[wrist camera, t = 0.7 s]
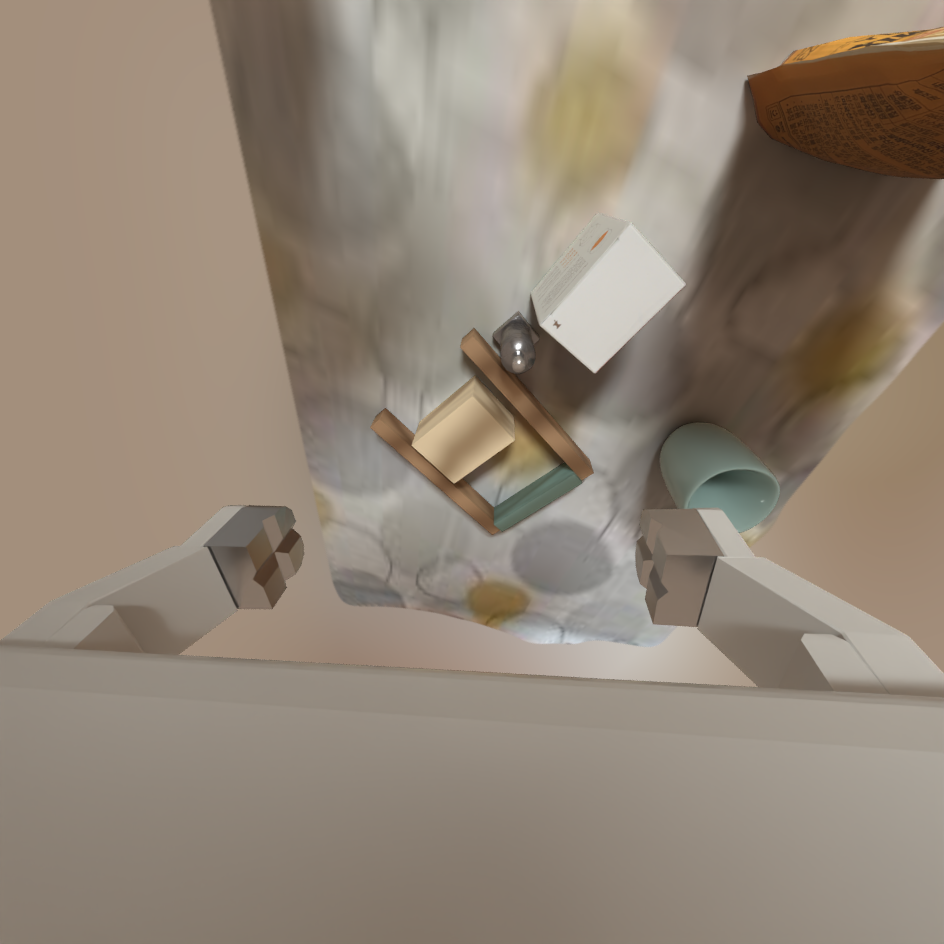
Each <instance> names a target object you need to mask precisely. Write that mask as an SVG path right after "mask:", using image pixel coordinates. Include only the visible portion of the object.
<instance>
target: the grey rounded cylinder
mask: <svg viewBox="0 0 944 944" xmlns="http://www.w3.org/2000/svg"><path fill="white" fill-rule="evenodd" d="M493 337H494V338H495V339H496V341H497V342H498V343H499V344H500V345H501V362H502V365H503V366H504V368H505V369H506V370H508V371H509V372H511V373H516V374H519V373H523V372H526V371H527V370H529V369H530V368H531V367H532V365H533V364H534V361H535V350H534V345H533V344H535V343H536V342H537V341H538V340H540V339H539V336H538V334H537V333H536V332H535V331H534V330H533V328H532V327H531V326H530V325H529V323H528V322H527V321H526V320H525V318H524V317H523V316H522V315H521V313H520V312H519V311H518V312H517V313H515V314H514V315H513V316H512V317H511V318H510V319H509V320H507V321H506V322H505V323H504V324H503V325H502V326H500V327H499V328H498V329H497V330H496V331H495V332H494V333H493Z"/></svg>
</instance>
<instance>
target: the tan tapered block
mask: <svg viewBox="0 0 944 944" xmlns="http://www.w3.org/2000/svg"><path fill="white" fill-rule="evenodd" d="M513 441H515V431H514V416H513V415H512V414H511V413H510V412H509V411H508V410H507V409H506V408H505V407H504V406H503V404H502V403H501V402H500V401H499V400H498V399H497V398H496V397H495V396H494V395H493V394H492V393H491V392H490V390H489V389H488V388H487V387H486V386H485V385H484V384H483V383H482V382H481V381H480V380H479V379H478V377H477V376H476V375H475V376H474V377H473V378H471V379H470V380H469V381H468V382H467V383H465V384H464V385H463V386H462V387H461V388H459V389H458V390H457V391H456V392H455V393H453V394H452V395H451V396H450V397H449V398H447V399H446V400H445V401H444V402H443V403H441V404H440V405H439V406H438V407H437V408H436V409H434V410H433V411H432V412H431V413H430V414H428V415H427V416H426V417H425V418H424V419H422V420H421V421H420V422H419V425H418V428H417V431H416V434H415V437H414V440H413V443H412V446H413V447H414V448H415V449H416V450H417V451H418V452H419V453H420V454H422V455H423V456H424V457H425V458H426V459H427V460H428V461H429V462H430V463H432V464H433V465H434V466H435V467H436V468H437V469H438V470H439V471H440V472H441V473H443V474H444V475H445V476H446V477H447V478H448V479H449V480H450V481H451V482H453V483H456V482H457V481H459V480H460V479H461V478H463V477H464V476H466V475H467V474H468V473H470V472H471V471H473V470H474V469H475V468H477V467H478V466H480V465H481V464H482V463H484V462H485V461H487V460H488V459H489V458H491V457H492V456H494V455H495V454H496V453H498V452H499V451H501V450H502V449H503V448H505V447H506V446H508V445H509V444H510V443H512V442H513Z"/></svg>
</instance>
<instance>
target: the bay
mask: <svg viewBox="0 0 944 944" xmlns="http://www.w3.org/2000/svg"><path fill="white" fill-rule="evenodd" d="M460 348H461V349H462V350H463V351H464V352H465V353H466V354H467V355H468V356H469V357H470V359H471V360H472V361H473V362H474V363H475V364H476V365H477V366H478V367H479V368H480V370H481V371H482V372H483V373H484V374H485V375H486V376H487V377H488V378H489V379H490V380H491V382H492V383H493V384H494V385H495V386H496V387H497V388H498V389H499V390H500V391H501V393H502V394H503V395H504V396H505V397H506V398H507V399H508V400H509V401H510V402H511V403H512V405H513V406H514V407H515V408H516V409H517V410H518V411H519V412H520V413H521V414H522V416H523V417H524V418H525V419H526V420H527V421H528V422H529V423H530V424H531V425H532V426H533V428H534V429H535V430H536V431H537V432H538V433H539V434H540V435H541V436H542V437H543V439H544V440H545V441H546V442H547V443H548V444H549V445H550V446H551V447H552V448H553V449H554V451H555V452H556V453H557V454H558V455H559V456H560V457H561V458H562V459H563V460H564V463H563V464H561V465H560V466H558V467H556V468H555V469H553V470H552V471H550V472H549V473H547V474H546V475H544V476H542V477H541V478H539V479H538V480H536V481H535V482H533V483H532V484H530V485H529V486H527V487H525V488H524V489H522V490H521V491H519V492H518V493H516V494H515V495H513V496H512V497H510V498H508V499H507V500H505V501H504V502H502V503H501V504H499V505H498V506H496V507H493V506H492V505H491V504H489V503H488V502H487V501H486V500H485V499H484V498H483V497H482V496H481V495H480V494H479V493H478V492H476V491H475V490H474V489H473V488H472V487H471V486H470V485H469V484H468V483H467V482H466V481H464V480H463V479H462V478H461V479H460V480H459V481H457V482H456V483H453V482H451V481H450V480H449V479H448V478H447V477H446V476H445V475H444V474H443V473H441V472H440V471H439V470H438V469H437V468H436V467H435V466H434V465H433V464H432V463H430V462H429V461H428V460H427V459H426V458H425V457H424V456H423V455H422V454H420V453H419V452H418V451H417V450H416V449H415V448H414V447H413V446H412V443H413V440H414V437H415V435H414V434H413V433H412V432H411V431H410V430H409V429H408V428H407V427H406V426H405V425H404V424H403V423H401V422H400V421H399V420H398V419H397V418H396V417H395V416H394V415H393V414H392V413H391V412H389V411H388V410H387V409H386V408H385V409H383V410H382V411H381V412H380V413H379V414H378V415H377V416H376V417H375V419H374V421H373V423H372V425H371V427H370V428H371V429H372V430H374V431H375V432H376V433H377V434H378V435H379V436H380V437H382V438H383V439H384V440H385V441H386V442H387V443H388V444H390V445H391V446H392V447H393V448H394V449H395V450H396V451H397V452H399V453H400V454H401V455H402V456H403V457H404V458H405V459H407V460H408V461H409V462H410V463H411V464H412V465H413V466H415V467H416V468H417V469H418V470H419V471H420V472H421V473H422V474H424V475H425V476H426V477H427V478H428V479H429V480H430V481H432V482H433V483H434V484H435V485H436V486H437V487H438V488H440V489H441V490H442V491H443V492H444V493H445V494H446V495H448V496H449V497H450V498H451V499H452V500H453V501H454V502H455V503H457V504H458V505H459V506H460V507H461V508H462V509H463V510H465V511H466V512H467V513H468V514H469V515H470V516H471V517H473V518H474V519H475V520H476V521H477V522H478V523H479V524H480V525H482V526H483V527H484V528H485V529H486V530H487V531H488V532H490V533H491V534H492V535H493V534H495V533H496V532H498V531H500V530H501V531H502V532H503V531H504V530H506V529H508V528H509V527H511V526H513V525H514V524H516V523H518V522H519V521H521V520H523V519H524V518H526V517H528V516H529V515H531V514H532V513H534V512H536V511H537V510H539V509H541V508H542V507H544V506H546V505H547V504H549V503H551V502H552V501H554V500H555V499H557V498H559V497H560V496H562V495H564V494H565V493H567V492H569V491H570V490H572V489H574V488H575V487H577V486H578V485H580V484H582V480H583V479H585V478H586V477H588V476H590V475H591V474H593V473H594V472H593V469H592V466H591V462H590V460H589V458H588V457H587V456H586V455H585V454H584V453H583V452H582V450H581V449H580V448H579V447H578V446H577V445H576V444H575V442H574V441H573V440H572V439H571V438H570V437H569V436H568V434H567V433H566V432H565V431H564V430H563V429H562V428H561V426H560V425H559V424H558V423H557V422H556V421H555V420H554V418H553V417H552V416H551V415H550V414H549V413H548V412H547V410H546V409H545V408H544V407H543V406H542V405H541V404H540V402H539V401H538V400H537V399H536V398H535V397H534V396H533V394H532V393H531V392H530V391H529V390H528V389H527V388H526V386H525V385H524V384H523V383H522V382H521V381H520V380H519V378H518V377H517V376H516V375H515V374H514V373H511V372H509V371H508V370H506V369H505V368H504V366H503V365H502V362H501V358H500V357H499V356H498V354H497V353H496V352H495V351H494V350H493V349H492V348H491V346H490V345H489V344H488V343H487V342H486V341H485V340H484V338H483V337H482V336H481V335H480V334H479V333H478V332H477V330H476V329H475V328H473V329H472V330H471V331H470V332H469V333H468V334H467V335H466V336H465V337H463V338H462V342H461V346H460Z"/></svg>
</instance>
